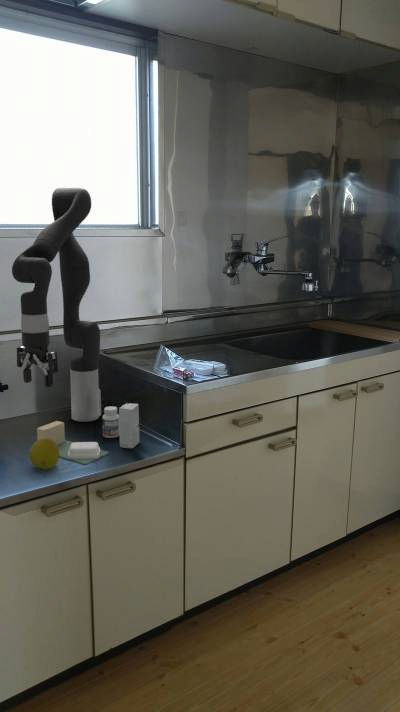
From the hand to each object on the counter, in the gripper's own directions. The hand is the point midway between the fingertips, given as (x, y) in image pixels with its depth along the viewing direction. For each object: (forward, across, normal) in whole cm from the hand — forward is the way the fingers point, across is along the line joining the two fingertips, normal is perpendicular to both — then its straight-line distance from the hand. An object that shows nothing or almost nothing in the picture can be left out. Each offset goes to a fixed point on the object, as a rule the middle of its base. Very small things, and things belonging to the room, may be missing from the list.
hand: (38, 384), depth 172 cm
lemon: (+19, -12, +10) cm, 25 cm away
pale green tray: (+19, -10, -2) cm, 22 cm away
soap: (+19, -15, -2) cm, 24 cm away
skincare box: (+20, -20, -17) cm, 32 cm away
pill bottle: (+20, -10, -20) cm, 30 cm away
